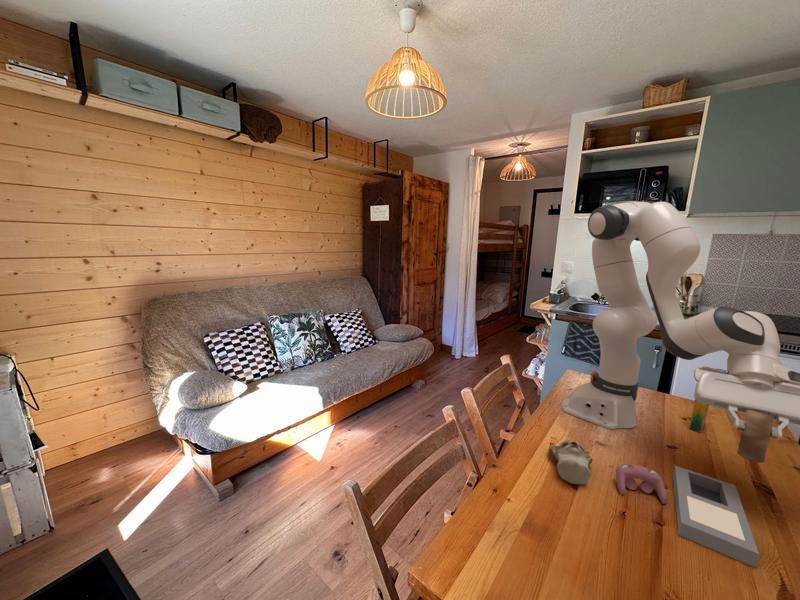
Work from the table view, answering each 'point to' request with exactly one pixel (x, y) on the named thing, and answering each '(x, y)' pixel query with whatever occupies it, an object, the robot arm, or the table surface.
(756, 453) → the walnut peg
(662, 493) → the video game controller
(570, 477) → the ceramic sculpture
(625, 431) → the table surface
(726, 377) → the robot arm
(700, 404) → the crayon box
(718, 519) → the hole board
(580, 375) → the table surface
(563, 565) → the table surface
